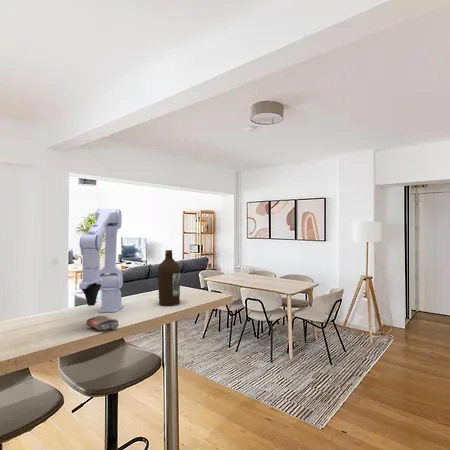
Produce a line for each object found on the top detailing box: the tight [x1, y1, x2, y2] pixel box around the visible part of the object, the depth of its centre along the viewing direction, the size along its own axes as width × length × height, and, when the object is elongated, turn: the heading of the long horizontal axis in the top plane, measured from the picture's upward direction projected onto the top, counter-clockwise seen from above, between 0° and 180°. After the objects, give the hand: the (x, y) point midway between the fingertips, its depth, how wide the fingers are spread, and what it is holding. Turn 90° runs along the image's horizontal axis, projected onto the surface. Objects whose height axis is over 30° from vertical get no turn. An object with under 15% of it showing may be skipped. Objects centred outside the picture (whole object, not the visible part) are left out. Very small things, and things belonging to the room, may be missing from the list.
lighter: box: [85, 315, 119, 331], centre depth 113 cm, size 8×3×10 cm
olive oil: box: [156, 249, 181, 307], centre depth 149 cm, size 11×11×25 cm
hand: (91, 305), depth 115 cm, fingers closed
